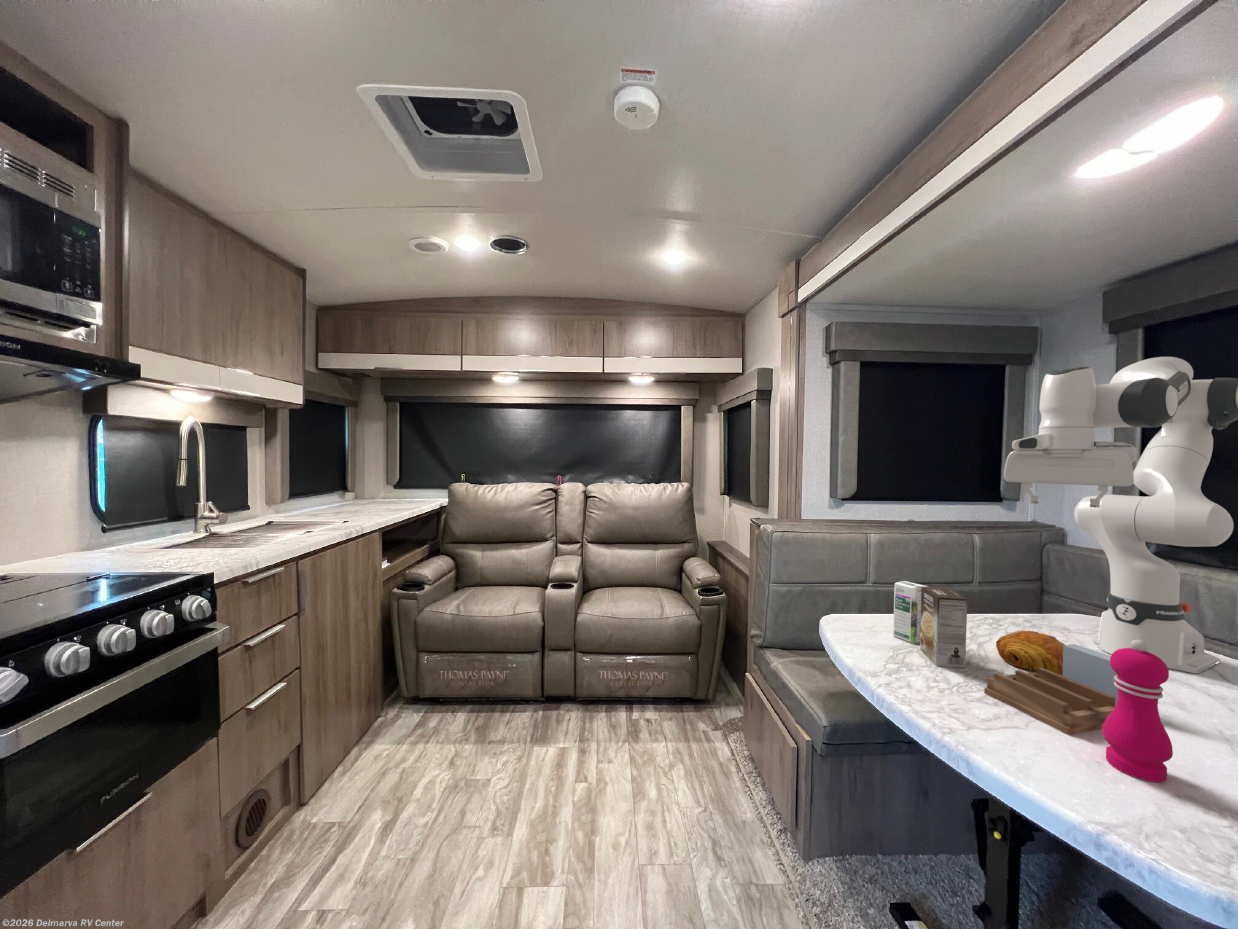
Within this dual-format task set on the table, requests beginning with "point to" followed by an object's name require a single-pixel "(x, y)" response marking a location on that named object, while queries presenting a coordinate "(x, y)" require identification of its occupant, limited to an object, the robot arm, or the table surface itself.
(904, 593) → the syrup box
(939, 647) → the coffee box
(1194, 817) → the table surface
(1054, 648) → the croissant
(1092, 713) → the rack
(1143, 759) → the pepper mill
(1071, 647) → the tile
